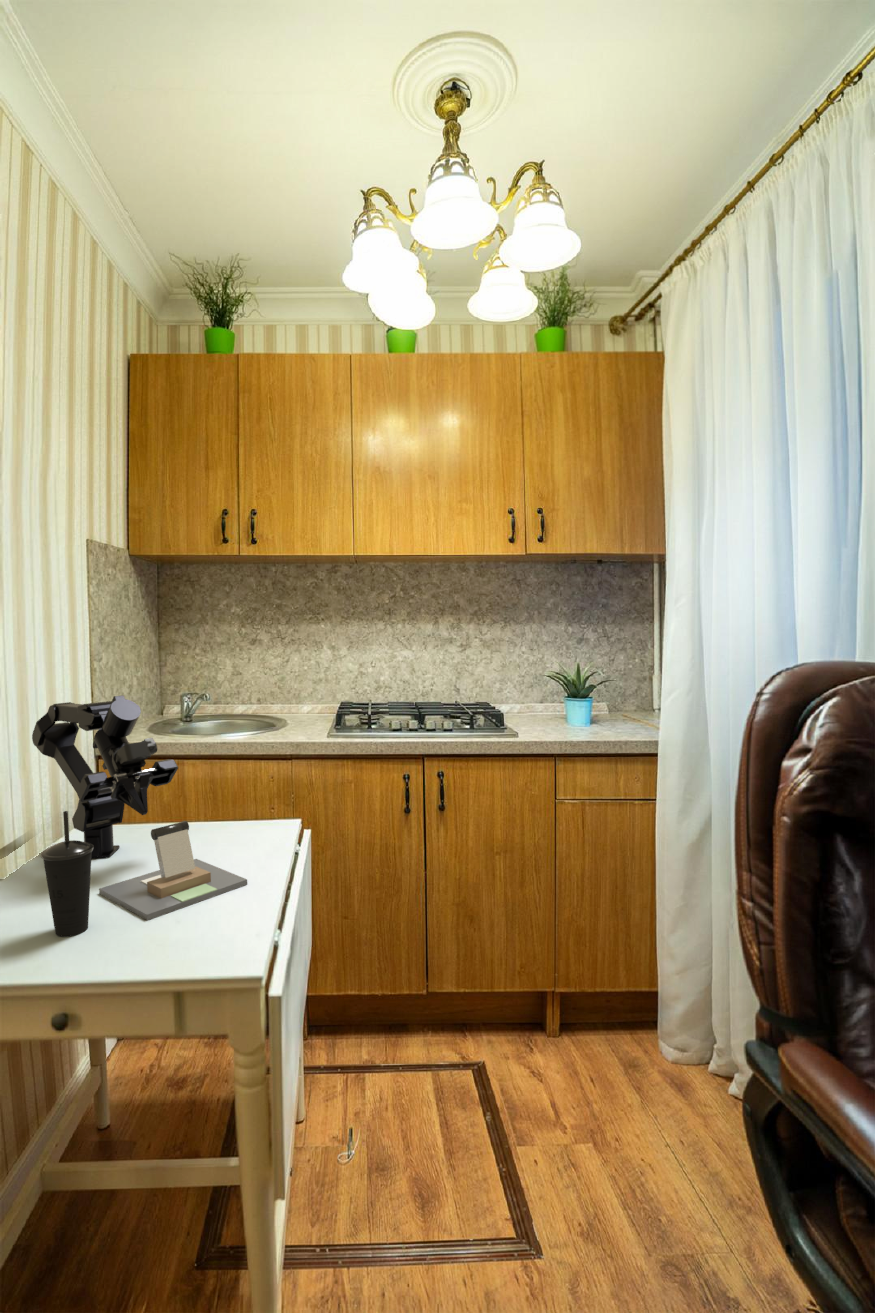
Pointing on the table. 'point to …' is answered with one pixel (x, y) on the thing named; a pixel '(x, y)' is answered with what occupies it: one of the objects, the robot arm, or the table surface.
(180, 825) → the bench scraper
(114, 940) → the table surface
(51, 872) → the drinking cup
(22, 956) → the table surface
